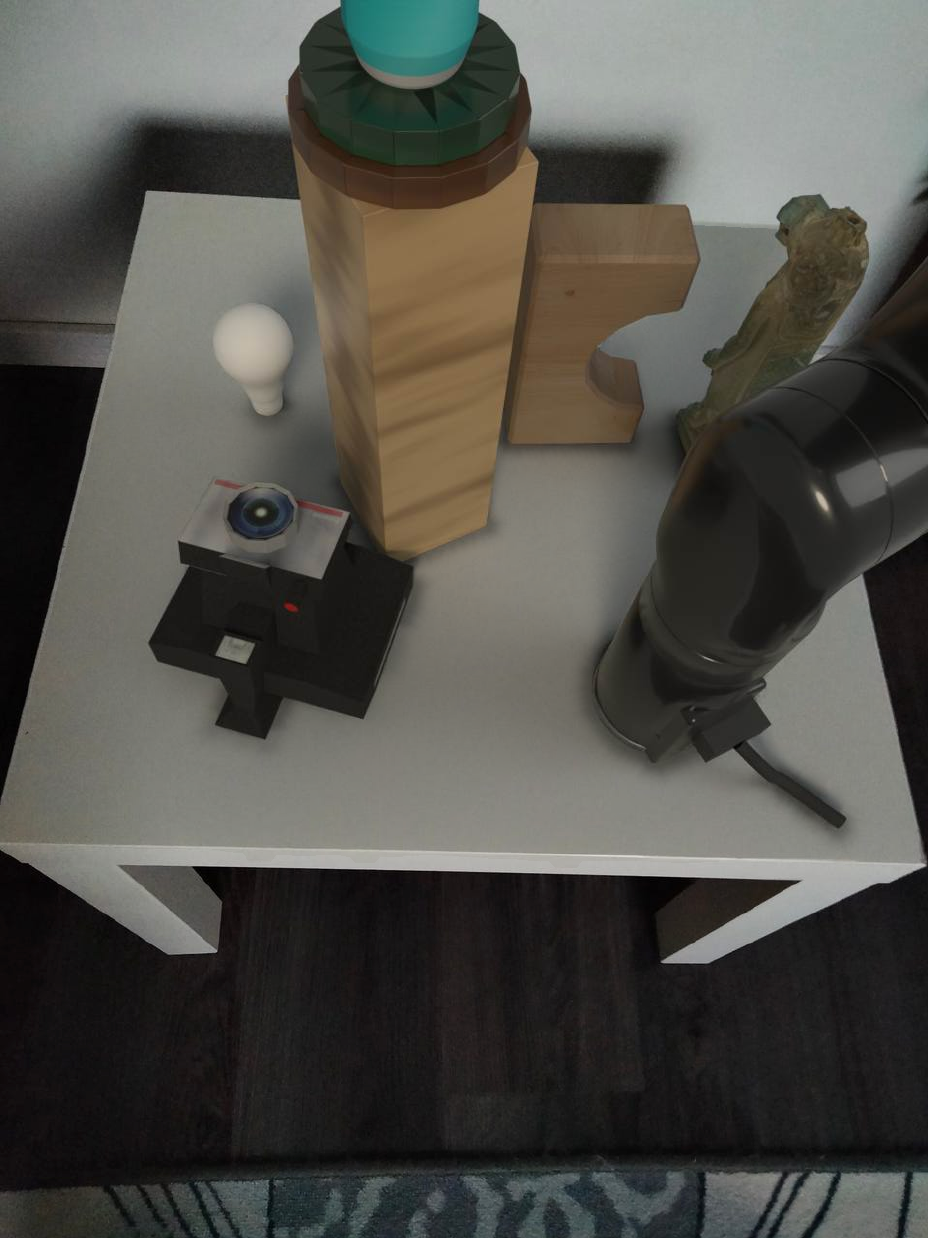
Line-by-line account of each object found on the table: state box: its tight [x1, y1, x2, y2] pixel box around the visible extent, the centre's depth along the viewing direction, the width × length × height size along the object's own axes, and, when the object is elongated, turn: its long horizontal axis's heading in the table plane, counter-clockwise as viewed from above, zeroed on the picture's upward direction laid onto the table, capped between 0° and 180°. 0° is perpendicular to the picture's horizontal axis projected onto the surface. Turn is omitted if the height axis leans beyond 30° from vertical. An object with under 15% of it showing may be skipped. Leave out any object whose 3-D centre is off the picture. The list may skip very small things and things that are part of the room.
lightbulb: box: [212, 302, 294, 417], centre depth 68 cm, size 6×6×11 cm
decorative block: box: [503, 202, 702, 445], centre depth 65 cm, size 11×6×20 cm, turn 92°
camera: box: [147, 475, 414, 740], centre depth 58 cm, size 16×14×15 cm
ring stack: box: [285, 5, 539, 562], centre depth 53 cm, size 11×11×36 cm
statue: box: [676, 193, 870, 456], centre depth 62 cm, size 7×8×25 cm
